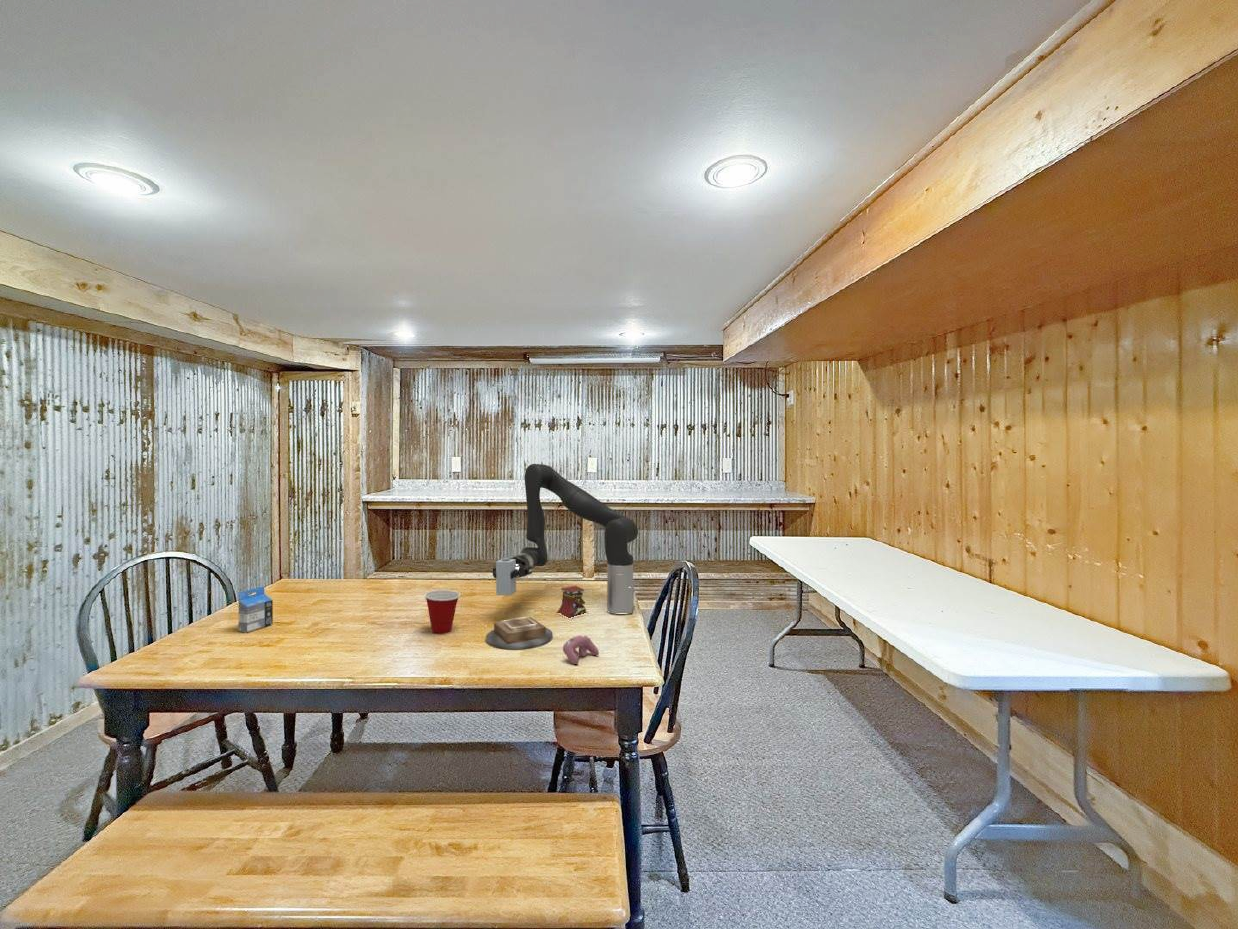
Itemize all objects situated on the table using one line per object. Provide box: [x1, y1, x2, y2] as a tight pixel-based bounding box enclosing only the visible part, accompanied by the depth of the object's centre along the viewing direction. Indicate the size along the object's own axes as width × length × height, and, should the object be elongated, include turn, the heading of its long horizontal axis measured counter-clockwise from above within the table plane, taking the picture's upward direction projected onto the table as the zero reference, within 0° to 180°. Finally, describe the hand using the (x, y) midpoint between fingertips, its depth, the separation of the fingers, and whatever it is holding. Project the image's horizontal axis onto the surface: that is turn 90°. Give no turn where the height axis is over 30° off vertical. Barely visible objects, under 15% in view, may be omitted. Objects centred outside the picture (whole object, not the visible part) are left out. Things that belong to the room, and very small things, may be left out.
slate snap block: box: [495, 556, 517, 596], centre depth 185 cm, size 5×5×12 cm
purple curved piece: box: [562, 635, 600, 665], centre depth 153 cm, size 10×5×7 cm, turn 142°
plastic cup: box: [424, 589, 461, 635], centre depth 175 cm, size 11×11×12 cm
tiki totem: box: [556, 585, 588, 618], centre depth 194 cm, size 9×9×9 cm
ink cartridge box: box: [238, 586, 274, 633], centre depth 176 cm, size 9×4×12 cm, turn 161°
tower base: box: [485, 616, 554, 651], centre depth 169 cm, size 20×20×5 cm
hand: (503, 575), depth 182 cm, fingers closed on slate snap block, 5 cm apart
